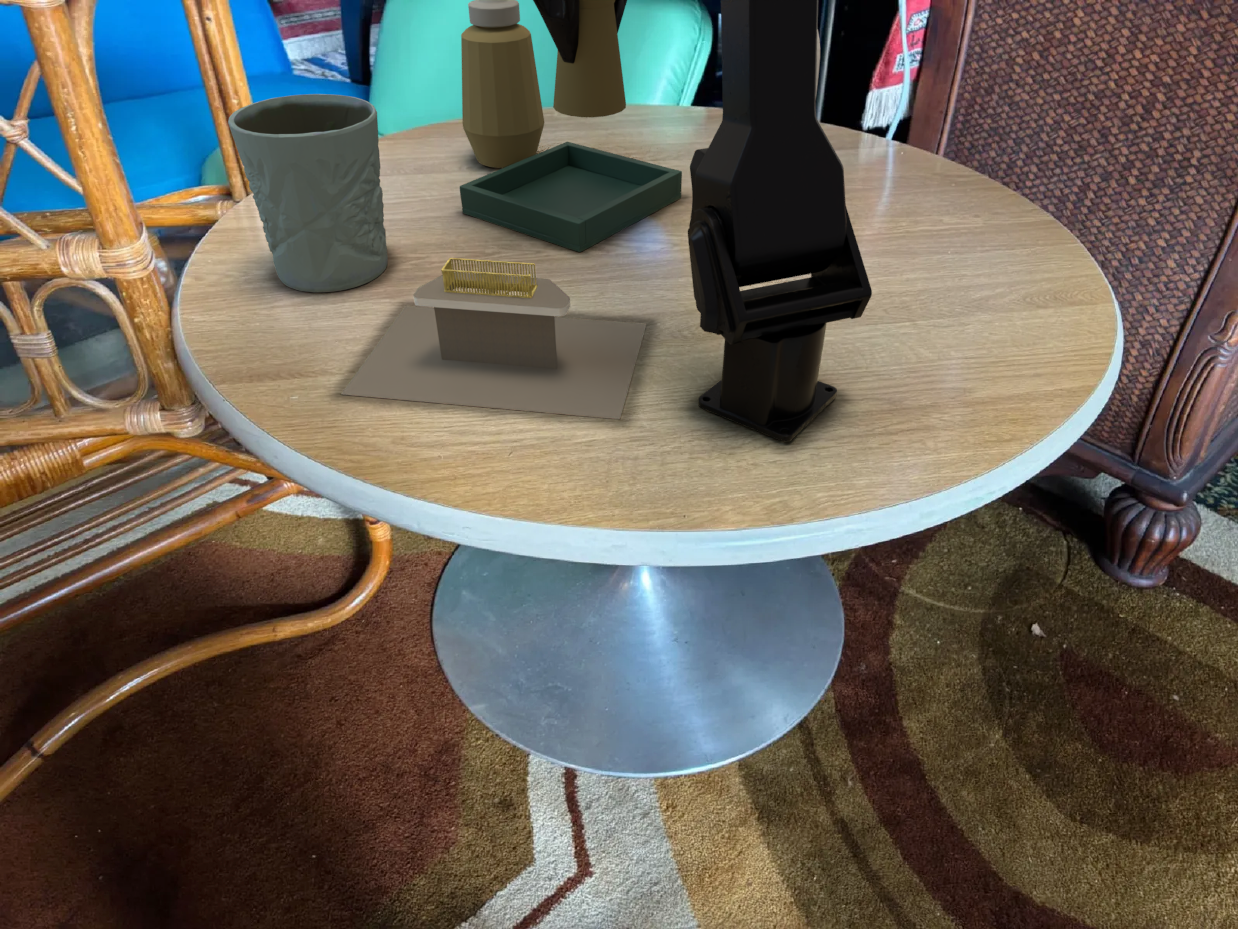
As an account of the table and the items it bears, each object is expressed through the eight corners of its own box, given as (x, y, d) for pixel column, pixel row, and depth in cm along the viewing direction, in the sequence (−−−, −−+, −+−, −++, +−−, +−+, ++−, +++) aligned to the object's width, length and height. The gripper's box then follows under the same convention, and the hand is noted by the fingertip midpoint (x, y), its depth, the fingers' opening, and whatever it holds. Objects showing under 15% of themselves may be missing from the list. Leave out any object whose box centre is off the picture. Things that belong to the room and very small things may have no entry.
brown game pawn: (618, 119, 71) (617, -38, 64) (544, 114, 72) (536, -40, 65) (632, 97, 76) (633, -52, 69) (563, 92, 77) (557, -54, 70)
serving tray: (580, 252, 73) (578, 223, 72) (462, 213, 80) (459, 185, 78) (681, 197, 82) (682, 170, 81) (568, 166, 89) (567, 140, 87)
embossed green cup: (246, 268, 71) (201, 113, 64) (354, 230, 77) (325, 83, 70) (316, 310, 66) (276, 145, 58) (427, 265, 72) (403, 110, 64)
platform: (405, 305, 66) (391, 220, 62) (646, 323, 64) (648, 236, 60) (340, 394, 57) (318, 301, 53) (619, 419, 55) (619, 324, 51)
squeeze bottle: (543, 174, 87) (531, -36, 76) (460, 174, 87) (436, -35, 76) (549, 146, 93) (539, -51, 82) (472, 146, 94) (451, -51, 83)
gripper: (587, -173, 52) (593, 103, 62) (753, -187, 64) (736, 48, 74) (453, -179, 58) (478, 76, 67) (628, -191, 69) (628, 28, 79)
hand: (588, 56), depth 72 cm, fingers closed on brown game pawn, 4 cm apart
